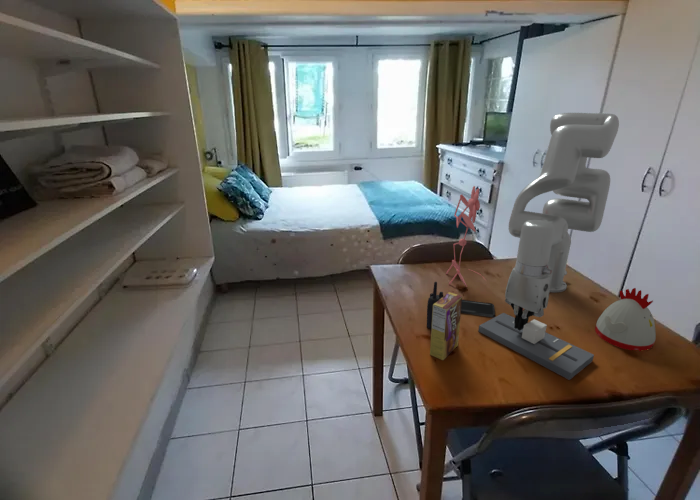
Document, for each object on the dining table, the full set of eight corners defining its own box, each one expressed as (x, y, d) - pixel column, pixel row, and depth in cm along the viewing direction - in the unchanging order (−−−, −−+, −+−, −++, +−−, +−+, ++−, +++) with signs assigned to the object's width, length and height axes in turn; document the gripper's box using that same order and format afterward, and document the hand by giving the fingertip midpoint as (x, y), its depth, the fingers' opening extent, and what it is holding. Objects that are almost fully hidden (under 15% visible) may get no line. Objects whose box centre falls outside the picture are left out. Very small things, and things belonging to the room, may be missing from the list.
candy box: (444, 339, 109) (448, 291, 103) (458, 345, 106) (464, 296, 101) (428, 354, 103) (432, 303, 97) (442, 361, 100) (448, 309, 94)
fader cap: (531, 331, 108) (534, 319, 107) (544, 337, 106) (546, 324, 104) (521, 337, 105) (523, 325, 104) (534, 344, 103) (536, 331, 101)
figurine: (449, 295, 133) (462, 195, 121) (441, 265, 157) (451, 179, 144) (495, 298, 132) (513, 197, 119) (480, 267, 156) (493, 180, 143)
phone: (446, 297, 130) (494, 303, 126) (446, 300, 131) (493, 306, 127) (445, 308, 123) (495, 315, 119) (444, 311, 124) (494, 318, 120)
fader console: (502, 318, 119) (503, 312, 119) (592, 361, 100) (594, 354, 99) (478, 331, 113) (479, 324, 112) (569, 380, 93) (571, 372, 92)
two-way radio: (429, 331, 113) (433, 284, 108) (421, 323, 117) (424, 278, 111) (445, 327, 115) (450, 281, 109) (437, 319, 119) (441, 275, 113)
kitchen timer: (632, 356, 102) (647, 306, 96) (584, 329, 114) (595, 283, 108) (664, 343, 107) (681, 295, 102) (615, 319, 119) (628, 274, 113)
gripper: (567, 273, 98) (553, 335, 105) (513, 255, 109) (504, 312, 116) (551, 281, 94) (538, 345, 100) (497, 261, 105) (488, 320, 112)
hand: (519, 327), depth 108 cm, fingers closed
